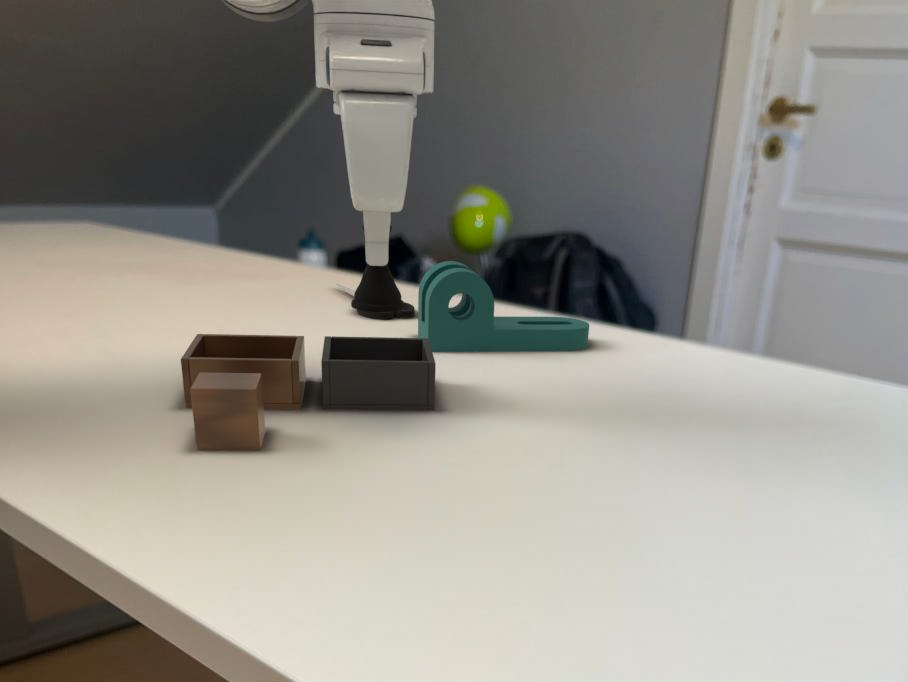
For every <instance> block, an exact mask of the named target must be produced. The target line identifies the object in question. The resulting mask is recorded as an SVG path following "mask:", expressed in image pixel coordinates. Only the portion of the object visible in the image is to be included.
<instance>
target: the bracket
mask: <svg viewBox="0 0 908 682" xmlns="http://www.w3.org/2000/svg"><path fill="white" fill-rule="evenodd" d="M417 294H418V295H417V296H418V297H417V298H418V300H417V301H418V302H417V338H428V339H429V343H430V346H431V349H432V353H444V352H446V353H448V352H451V353H452V352H455V353H457V352H461V353H463V352H465V353H466V352H470V353H471V352H474V353H475V352H574V351H580V350H581V351H582V350H584V349H586V348H588V344H589V333H590V323H589V322H587V321H585V320H582V319H577V318H574V317H573V318H572V317H564V316H495V298H494V294H493V292H492V289H491V287H490V286H489V284H488V283H487V282H486V280H484V279H483V278H482V277H481V275H478V274H477V273H476V272H475V271H474V270H472V269H471V268H470V267H468V265H466V264H464V263H461V262H459V261H455V260H447V261H442V262H439V263H436V264H435V265H433V266H432V267H430V268H429V269H428V270H427V271H426V272H425V274H424V275H423V276H422V279H421V281H420V283H419V286H418V293H417ZM458 294H461V298H460V301H459V302H458V303H457V304H456V305H455V306H451V307H449V306H450V301H451V300H452V298H453V297H454V296H456V295H458Z"/></svg>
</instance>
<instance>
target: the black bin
mask: <svg viewBox="0 0 908 682" xmlns="http://www.w3.org/2000/svg"><path fill="white" fill-rule="evenodd" d="M433 353H434V352H432V349H431V346H430V343H429V339H428V338H418V337H381V336H380V337H379V336H334V335H333V336H327V335H326V336H324V338H323V347H322V353H321V361H320V365H321V384H322V385H321V391H322V409H323V410H341V411H342V410H347V411H349V410H350V411H428V412H429V411H430V412H432V411H436V406H435V405H436V360H435V357H434V354H433Z"/></svg>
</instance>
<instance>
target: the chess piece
mask: <svg viewBox="0 0 908 682" xmlns="http://www.w3.org/2000/svg"><path fill="white" fill-rule="evenodd" d="M392 229H393V228H392V225H391V224H390V232H389V236H391V233H392ZM362 230H363V233H364V234H365V232H364V224H363V225H362ZM354 291H355V294H354V296H353V299H352V300H351V303H350V305H351V308H352V309H354V310H356V311H357V310H361V311H367V312H394V311H399V310H402V309H404V306H405V305H404V302H405V301H404V300H403V299H402V294H401V291H400V289H399V288H398V286H397V284H396V282H395V280H394V276H393V274H392V271H391V269H390V267H389V264H388V263H387V264H386V265H385V266H370V265H369V264H367V263H366V266H365V268H364V272H363V273H362V275H361V278H360V282H359V284H358V286H357V288H356V289H355V290H354Z"/></svg>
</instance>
